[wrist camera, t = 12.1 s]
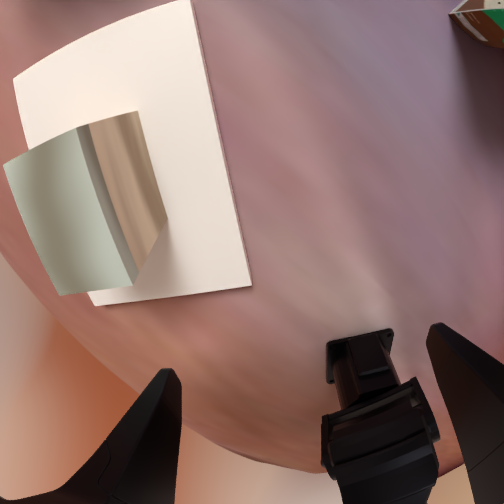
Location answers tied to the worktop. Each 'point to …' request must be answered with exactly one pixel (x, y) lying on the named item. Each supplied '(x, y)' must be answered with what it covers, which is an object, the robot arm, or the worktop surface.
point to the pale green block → (90, 203)
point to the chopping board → (151, 141)
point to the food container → (481, 20)
